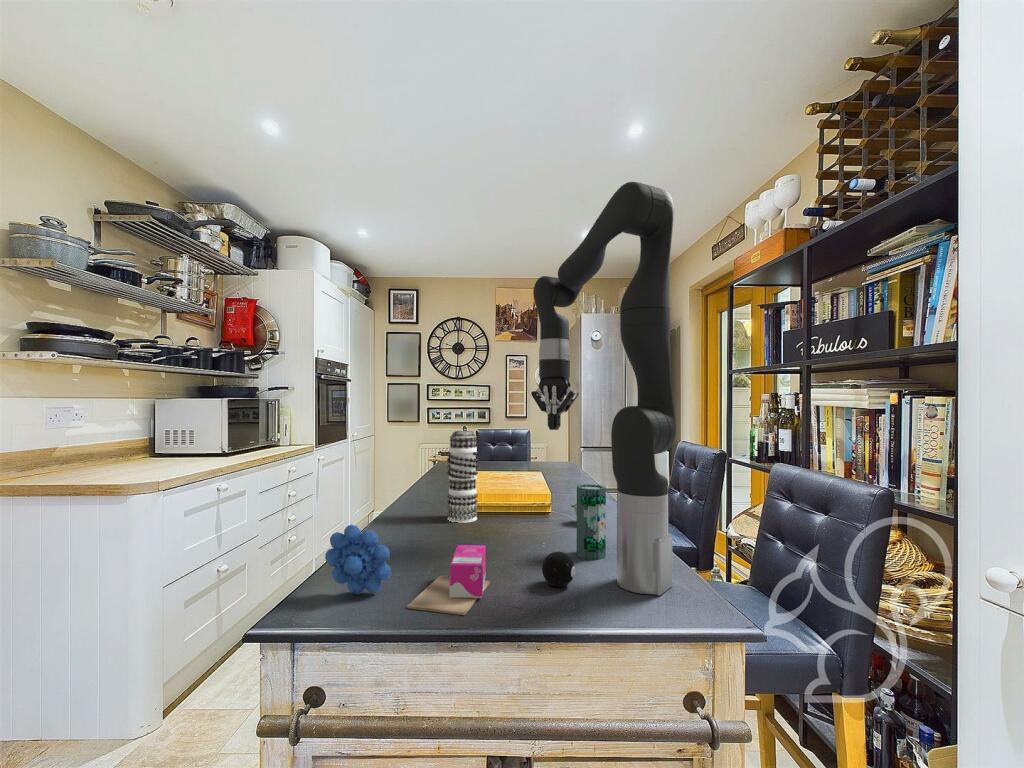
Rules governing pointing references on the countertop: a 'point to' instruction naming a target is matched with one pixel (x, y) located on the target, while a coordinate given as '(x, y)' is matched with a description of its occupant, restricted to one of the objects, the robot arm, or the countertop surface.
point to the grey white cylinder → (462, 477)
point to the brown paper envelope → (442, 598)
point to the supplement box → (468, 571)
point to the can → (591, 522)
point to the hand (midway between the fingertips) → (554, 429)
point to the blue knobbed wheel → (358, 560)
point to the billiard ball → (558, 569)
